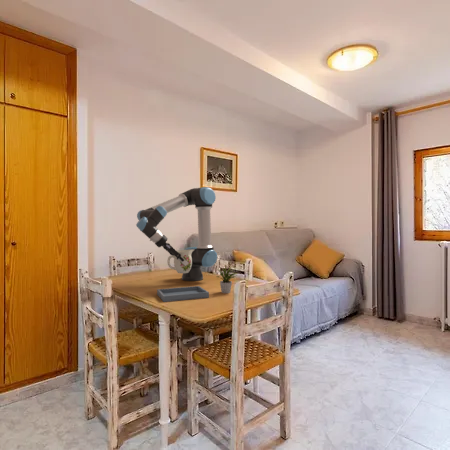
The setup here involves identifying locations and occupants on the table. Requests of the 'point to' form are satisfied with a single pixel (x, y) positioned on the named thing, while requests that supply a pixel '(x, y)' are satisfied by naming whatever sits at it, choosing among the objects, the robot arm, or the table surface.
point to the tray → (182, 293)
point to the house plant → (226, 280)
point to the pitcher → (178, 264)
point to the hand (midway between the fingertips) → (184, 263)
